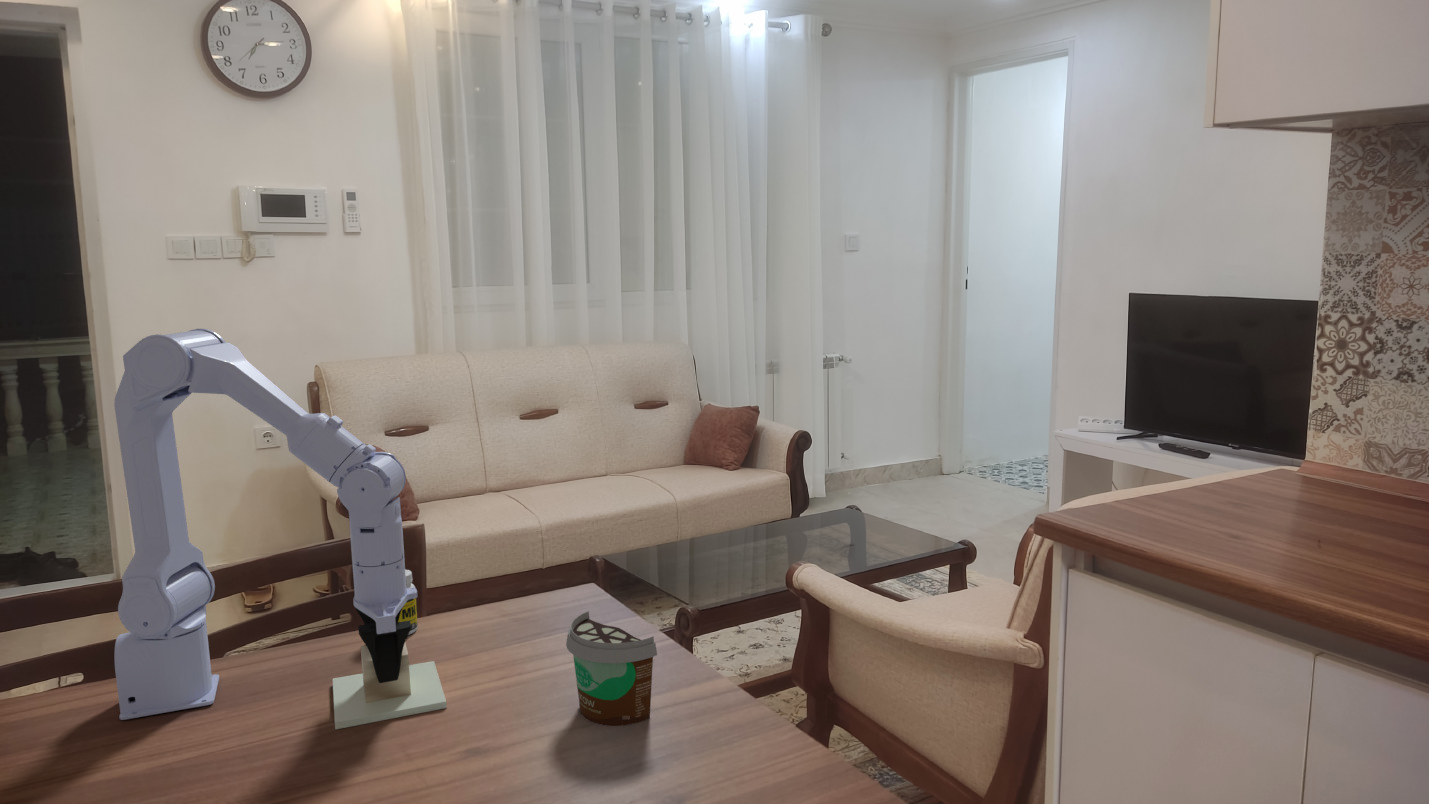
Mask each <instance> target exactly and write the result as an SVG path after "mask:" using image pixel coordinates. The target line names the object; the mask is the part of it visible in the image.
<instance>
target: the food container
mask: <svg viewBox="0 0 1429 804" xmlns="http://www.w3.org/2000/svg"><path fill="white" fill-rule="evenodd" d="M654 640H655V638H654V635H653V636H651V637H647V638H644V639H640V638H638V637H636V636H634V635H631V634H630V633H629V632H627V631H626V630H623V629H622V628H620V627H617V626H612V625H606V624H602V623H600V622H598V621H595V620H592V619H590V611H589V610H588V611H585V612H583V613H581V614H579V615H577V616H576V617H575V618H574V619H573V620H572V621H571V624H570V626H569V628H568V632H567V638H566V643H565V645H566V649H567V650H568V651H569V653H571V654H572V656H573V664H574V672H575V679H576V688H577V694H578V696H577V697H578V702H579V703H578V704H579V710H580V714H581V715H582V717H583V718H584V719H585V720H587V721H588V722H591V723H593V724H597V725H601V726H607V727H608V726H610V727H618V726H620V727H621V726H629V725H634V724H638V723H642V722H644V721H646V720H648V719H650V718H651V706H652V705H651V702H652V700H651V699H652V687H653V686H652V685H653V684H652V681H653V666H654V665H653V663H654V659H653V658H654V657H656V656H658V651H657V645H656V642H655V641H654Z"/></svg>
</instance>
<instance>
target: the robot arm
mask: <svg viewBox="0 0 1429 804" xmlns="http://www.w3.org/2000/svg"><path fill="white" fill-rule="evenodd" d="M122 359H123V365H124V366H123V367H124V372H123V374H122V377H121V380H120V383H119V384H118V387H117V390H116V393H115V395H114V400H113V401H114V412H115V419H116V425H117V426H116V427H117V433H118V439H119V447H120V455H121V461H122V469H123V475H124V480H125V481H124V482H125V489H126V496H127V503H128V511H129V517H130V525H131V532H132V538H133V544H134V545H133V546H134V555H133V557H132V558H131V560H130V561H129V564H128V565H127V567H126V569H125V571H124V573H123V575H122V576H121V581H122V594H121V597H120V600H119V602H118V605H117V613H118V616H119V620H120V623H121V624H122V625H123V626H124V628H125V629H126V630H127V631H128V632H125V633H121V634H118V635H117V637H116V639H115V643H114V655H113V656H114V670H115V678H116V679H115V682H116V689H117V697H118V705H119V712H120V714H119V715H118V716H119V720H121V721H123V720H124V721H125V720H131V719H136V718H141V717H148V716H153V715H159V714H160V715H161V714H163V713H170V712H176V711H180V710H188V709H193V708H199V707H200V708H201V707H205V706H209V705H212V704H214V703H215V700H216V699H215V698H216V694H217V690H218V686H219V685H218V684H219V682H220V674H216V673H215V674H212V665H211V657H210V648H209V647H210V645H209V638H208V626H207V619H206V615H207V614H208V613H207V605H208V604H209V603H210V602H211V601H212V599H213V597H214V594H215V589H216V585H215V579H214V577H213V575H212V573H211V572H210V571H209V569H208V568H207V566H206V564H205V560H204V553H203V551H202V550H201V549H200V548H199V547H197V546H195V545H194V544H193V543H192V542H190V537H189V531H188V530H189V529H188V523H187V515H186V507H185V501H184V493H183V486H182V479H181V472H180V463H179V456H178V449H177V448H178V447H177V441H176V433H175V426H174V419H173V412H174V411H175V410H176V409H177V408H178V407H179V406H180V405H181V404H182V403H183V402H184V401H185V400H186V399H187V398H188V397H189V396H190V395H192V393H194V394H212V395H225V396H228V397H230V398H231V399H232V400H233V401H235V402H236V403H238V404H240V405H241V406H242V407H244V408H245V409H247V410H248V411H250V412H251V413H253V414H255V415H256V416H257V417H259V418H260V419H261V420H263V421H264V422H266V423H267V424H268V425H270V426H272V427H273V428H274V429H276V430H277V431H279V432H280V433H282V434H284V436H285V437H286V440H287V448H288V451H289V453H291V454H292V455H294V457H296V458H297V459H299V461H301V462H302V463H304V464H305V465H306V466H307V467H309V468H310V469H312V470H313V471H314V472H316V473H317V474H318V475H319V476H321V477H322V478H323V479H325V480H326V481H327V482H328V483H330V484H331V485H332V486H333V487H336V488H337V489H336V492H337V496H338V500H339V501H340V503H341V504H342V505H343V506H344V507H345V508H346V510H347V511H348V517H349V519H348V520H349V521H348V522H349V537H350V550H351V562H352V564H351V565H352V575H353V576H352V577H353V587H354V588H353V589H354V597H353V599H352V600H353V606H354V608H355V610H356V612H357V614H358V615H359V617H360V618H361V620H362V622H363V624H360V625H358V627H357V628H358V635H359V637H360V638H361V640H362V642H363V643H364V645H366V646H367V648H368V650H369V652H370V655H371V658H372V661H373V665H374V669H375V673H376V676H377V679H378V681H379V683H384V682H390V681H395V680H398V677H399V672H400V666H401V657H402V651H403V647H404V643H406V640H407V638H408V636H409V635H408V634H409V632H410V629H411V622H410V620H409V621H403V622H398V620H399V616H400V613H401V610H402V608H403V606H404V604H405V603H406V602H407V600H409V599H414V598H416V599H417V598H418V590H417V588H416V587H415V588H406V575H405V570H406V564H405V562H406V561H405V549H404V547H405V546H404V534H403V533H404V531H403V519H402V511H401V510H402V509H401V497H399V495H400V493H401V492H402V491H403V490H404V488H405V485H406V483H407V482H406V480H407V476H406V470H405V468H404V466H403V464H402V463H401V462H400V461H399V460H398V459H397V458H396V456H395V455H394V454H392V453H389V452H386V451H377V448H376V447H375V446H374V445H372V444H370V443H369V444H368V445H367V444H366V443H364V442H363V441H361V440H360V439H359V438H358V437H356V436H355V435H354V434H353V433H351V432H350V431H349V430H347V429H346V428H345V427H344V426H342V425H343V424H344V420H343V419H341V418H340V417H339V416H337V415H336V414H335V415H332V416H330V415H328V414H327V413H324V412H318V413H309V412H308V411H306V410H305V409H304V408H302V406H300V405H299V404H298V403H297V402H296V401H294V399H292V398H291V397H290V396H288V394H286V392H284V391H283V390H282V389H280V387H278V386H277V385H276V383H274V382H272V380H270V379H269V378H268V377H267V376H266V375H264V373H262V371H260V370H259V369H258V368H257V367H255V366H254V365H253V364H252V363H251V362H250V361H248V360H247V359H246V357H245V356H244V354H243V353H242V352H241V350H240V349H239V347H237V346H236V345H234V344H232V343H230V342H226V341H225V339H224V338H223V336H221V335H220V334H218V333H217V332H216V331H214V330H211V329H208V328H195V329H191V330H188V331H183V332H182V331H180V332H176V333H175V332H174V333H167V334H161V333H160V334H159V333H158V334H152V335H148V336H146V337H142V339H140V340H138V342H136V343H135V344H134V345H133V346H132V347H131V348H130V349H129V350H128V351H127V352H125V354H123V355H122Z"/></svg>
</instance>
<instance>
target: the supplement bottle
mask: <svg viewBox="0 0 1429 804" xmlns="http://www.w3.org/2000/svg"><path fill="white" fill-rule="evenodd" d="M405 575H406V588H416V586H415V584H413V580H414V579H413V572H412V571H411V570H410V569H405ZM409 620H410V622H411V629H410V632H409V634H408V636H410V635H411V634H414V633H415V632H416V631H417V629H418V626H419V625H418V612H417V598H414V599H409V600H407V602H406V603H405V604H404V606H403V608H402V610H401V613H400V616H399V620H398V622H403V621H409Z"/></svg>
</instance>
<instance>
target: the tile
mask: <svg viewBox="0 0 1429 804" xmlns="http://www.w3.org/2000/svg"><path fill="white" fill-rule="evenodd" d="M409 673H410V688H411V695H407V696H401V697H396V698H391V699H385V700H380V701H375V702H369V703H366V701H365V693H364V684H363V672H362V673H358V674H357V673H356V674H351V675H345V676H339V677H333V678H332V693H333V694H332V695H333V697H332V698H333V714H334V716H333V717H334V730H339V729H345V728H350V727H355V726H361V725H365V724H372V723H376V722H382V721H385V720H393V719H396V718H401V717H406V716H407V717H408V716H412V715H417V714H422V713H427V712H433V711H437V710H443V709H447V707H448V706H447V699H446V694H445V692H444V689H443V686H442V683H441V680H440V676H439V673H438V670H437V667H436V663H435V660H433V661H426V662H420V663H414V664H409Z"/></svg>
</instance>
